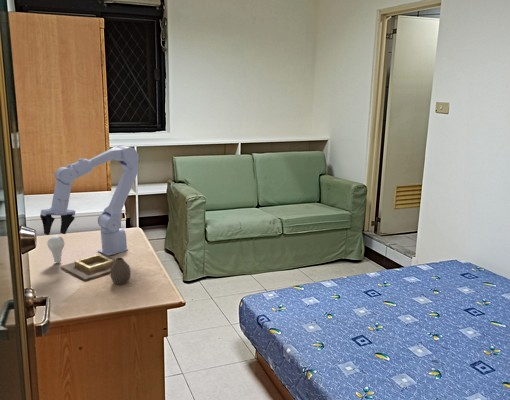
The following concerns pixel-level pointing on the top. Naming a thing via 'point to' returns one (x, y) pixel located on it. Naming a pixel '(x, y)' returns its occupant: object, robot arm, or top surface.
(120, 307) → the top surface
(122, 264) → the vase
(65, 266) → the lamp base
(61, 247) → the white light bulb
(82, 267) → the socket collar
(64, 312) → the top surface
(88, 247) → the top surface
